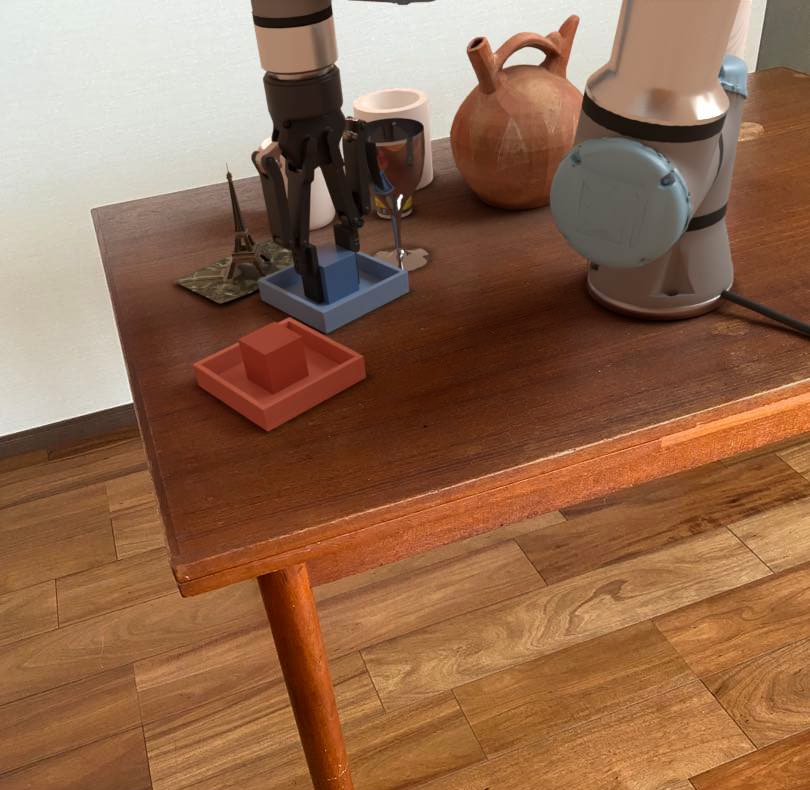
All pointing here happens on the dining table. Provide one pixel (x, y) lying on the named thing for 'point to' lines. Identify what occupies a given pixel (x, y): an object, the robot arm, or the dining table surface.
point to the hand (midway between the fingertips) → (332, 289)
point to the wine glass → (396, 179)
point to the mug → (399, 116)
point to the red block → (274, 357)
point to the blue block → (337, 272)
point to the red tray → (327, 377)
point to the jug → (517, 120)
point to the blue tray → (375, 291)
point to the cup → (312, 195)
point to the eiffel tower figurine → (238, 263)
